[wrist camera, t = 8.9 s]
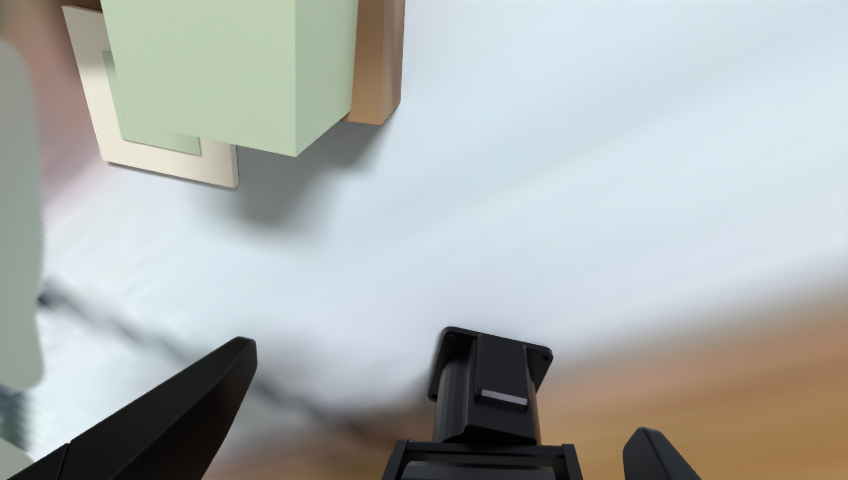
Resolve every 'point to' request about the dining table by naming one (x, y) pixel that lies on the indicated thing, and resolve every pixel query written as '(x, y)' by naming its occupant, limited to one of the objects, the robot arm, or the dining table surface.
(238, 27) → the sage block
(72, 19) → the swatch tile
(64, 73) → the dining table surface
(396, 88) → the walnut block
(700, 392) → the dining table surface
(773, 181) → the dining table surface
